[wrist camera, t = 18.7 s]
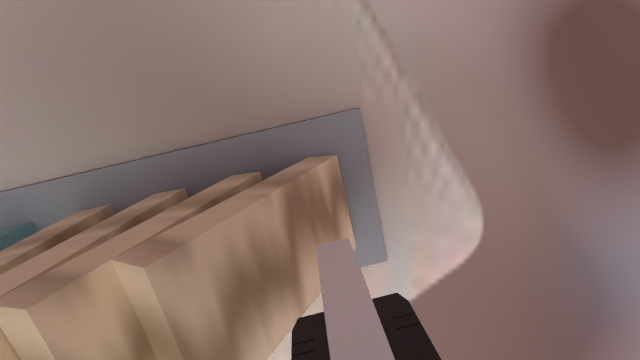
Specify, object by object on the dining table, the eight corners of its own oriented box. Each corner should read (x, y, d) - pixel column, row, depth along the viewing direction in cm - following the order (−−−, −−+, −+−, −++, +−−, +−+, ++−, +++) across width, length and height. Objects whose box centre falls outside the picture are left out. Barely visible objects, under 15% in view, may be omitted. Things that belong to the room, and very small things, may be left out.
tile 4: (76, 212, 21) (-253, 380, 8) (110, 204, 21) (-167, 360, 8) (116, 296, 23) (-103, 537, 10) (147, 289, 23) (-33, 519, 10)
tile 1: (307, 157, 21) (110, 259, 11) (336, 154, 20) (143, 268, 10) (328, 245, 23) (177, 402, 13) (356, 248, 22) (212, 426, 11)
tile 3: (154, 193, 21) (-140, 348, 9) (184, 188, 20) (-79, 342, 8) (188, 279, 23) (-14, 505, 11) (216, 275, 22) (41, 507, 10)
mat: (-100, 215, 20) (-108, 217, 20) (358, 108, 21) (359, 108, 21) (-10, 353, 24) (-14, 358, 23) (385, 258, 24) (387, 260, 24)
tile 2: (231, 175, 21) (-14, 304, 10) (259, 171, 20) (26, 309, 9) (258, 262, 23) (80, 456, 11) (285, 262, 22) (121, 474, 11)
